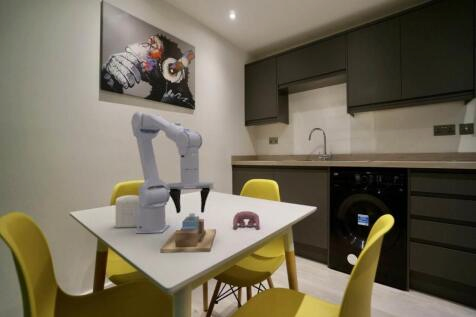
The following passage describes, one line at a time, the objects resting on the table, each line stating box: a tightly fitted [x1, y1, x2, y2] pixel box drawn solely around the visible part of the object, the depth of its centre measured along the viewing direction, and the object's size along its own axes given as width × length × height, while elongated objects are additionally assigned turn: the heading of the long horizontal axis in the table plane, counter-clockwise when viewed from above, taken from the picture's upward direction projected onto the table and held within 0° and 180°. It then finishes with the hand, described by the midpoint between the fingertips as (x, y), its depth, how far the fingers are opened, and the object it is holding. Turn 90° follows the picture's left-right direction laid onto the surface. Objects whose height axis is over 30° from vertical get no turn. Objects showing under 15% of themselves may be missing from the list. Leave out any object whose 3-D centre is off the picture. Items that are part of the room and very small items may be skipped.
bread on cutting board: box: [159, 218, 217, 254], centre depth 69 cm, size 14×16×5 cm
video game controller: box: [232, 210, 260, 230], centre depth 81 cm, size 10×5×7 cm, turn 85°
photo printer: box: [115, 194, 142, 228], centre depth 85 cm, size 10×4×12 cm, turn 94°
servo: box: [180, 212, 201, 236], centre depth 69 cm, size 4×10×7 cm, turn 0°
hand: (190, 212), depth 69 cm, fingers open, 7 cm apart
